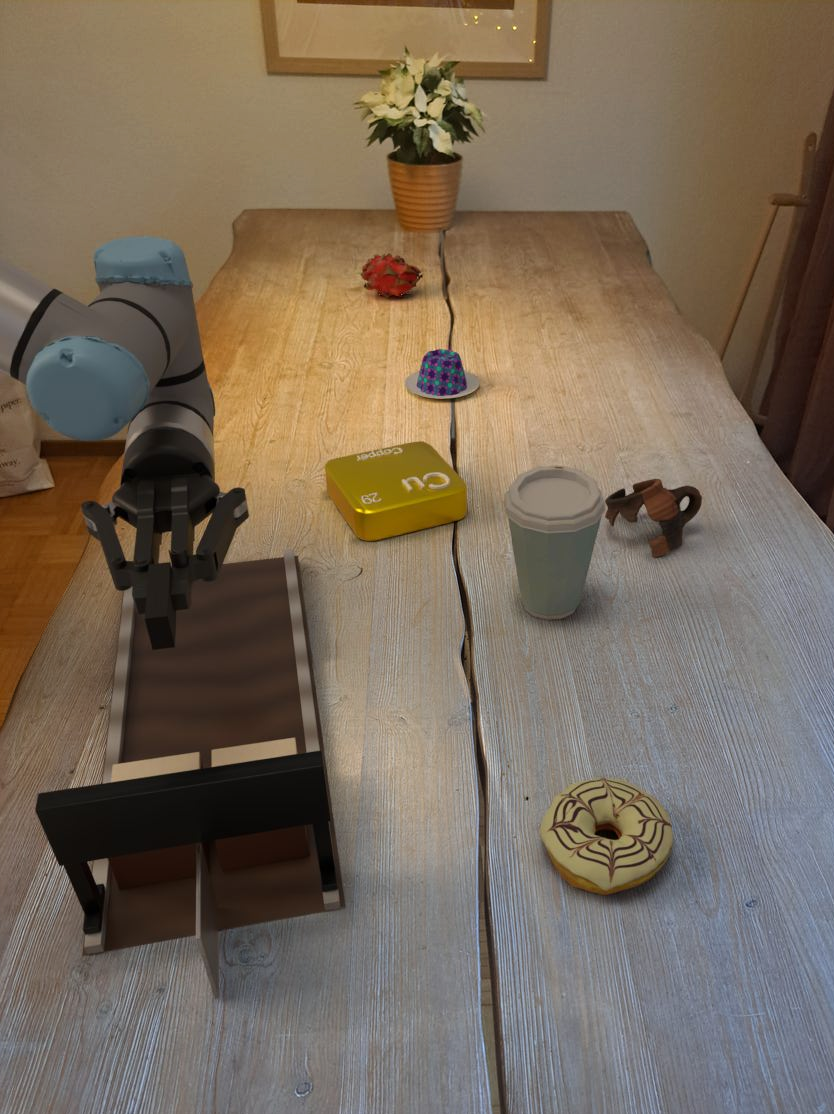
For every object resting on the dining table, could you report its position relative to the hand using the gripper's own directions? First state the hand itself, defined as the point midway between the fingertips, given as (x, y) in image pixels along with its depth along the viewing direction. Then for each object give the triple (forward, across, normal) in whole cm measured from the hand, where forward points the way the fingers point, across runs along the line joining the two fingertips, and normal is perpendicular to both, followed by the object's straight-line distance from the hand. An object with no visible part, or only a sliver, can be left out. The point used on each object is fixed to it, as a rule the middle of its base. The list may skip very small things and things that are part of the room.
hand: (160, 633), depth 63 cm
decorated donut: (+6, -32, -24) cm, 40 cm away
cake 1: (-1, +4, -22) cm, 23 cm away
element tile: (-53, -23, -24) cm, 62 cm away
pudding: (-87, -36, -24) cm, 97 cm away
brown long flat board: (-17, 0, -24) cm, 29 cm away
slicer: (+9, 0, -22) cm, 24 cm away
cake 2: (-2, -4, -22) cm, 23 cm away
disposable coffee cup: (-28, -37, -24) cm, 52 cm away
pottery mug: (-39, -54, -24) cm, 70 cm away
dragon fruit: (-130, -35, -24) cm, 137 cm away
